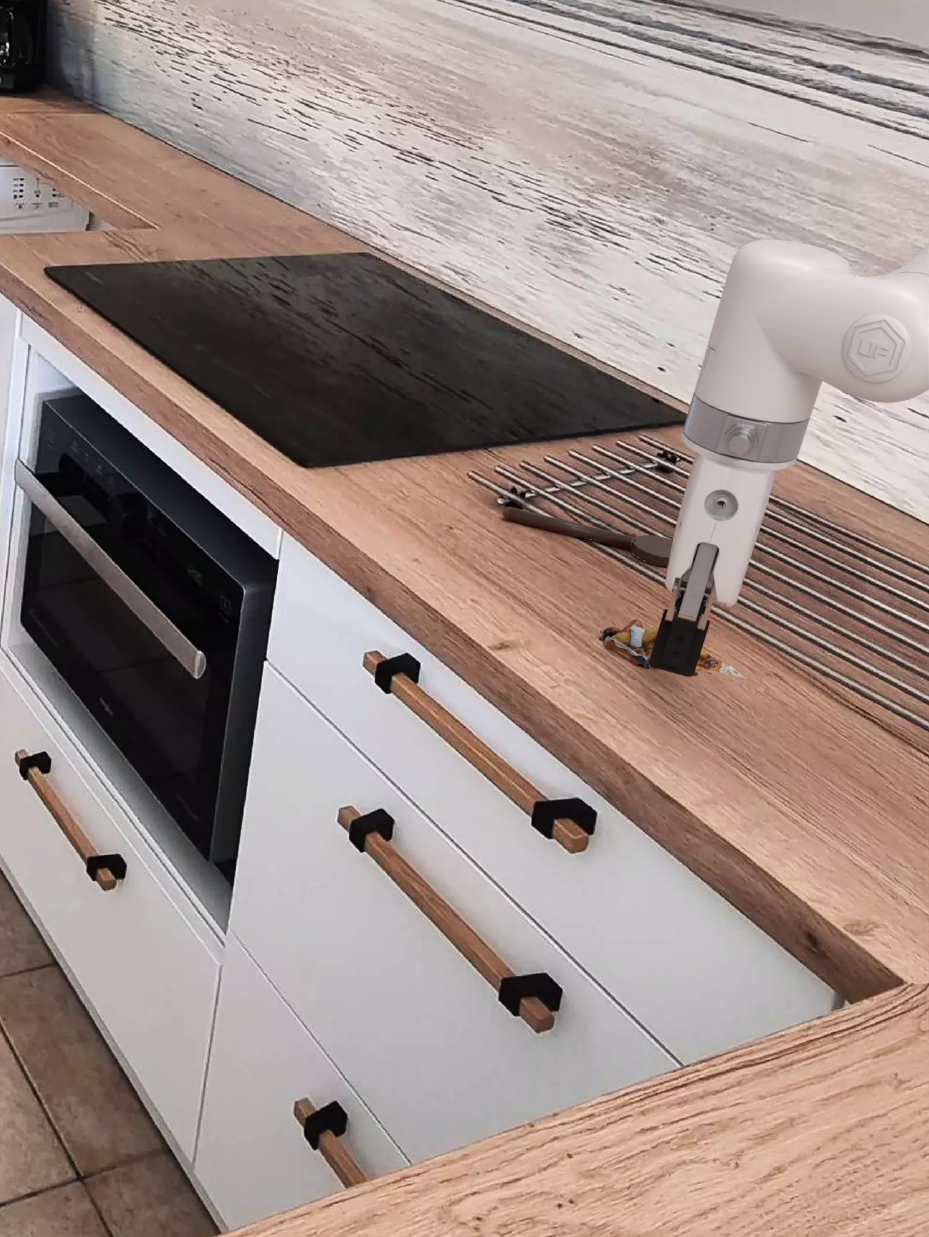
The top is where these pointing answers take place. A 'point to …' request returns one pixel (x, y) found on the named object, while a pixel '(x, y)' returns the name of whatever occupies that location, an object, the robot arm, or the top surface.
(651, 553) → the walnut spoon
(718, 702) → the top surface
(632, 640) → the pastry
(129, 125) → the top surface
